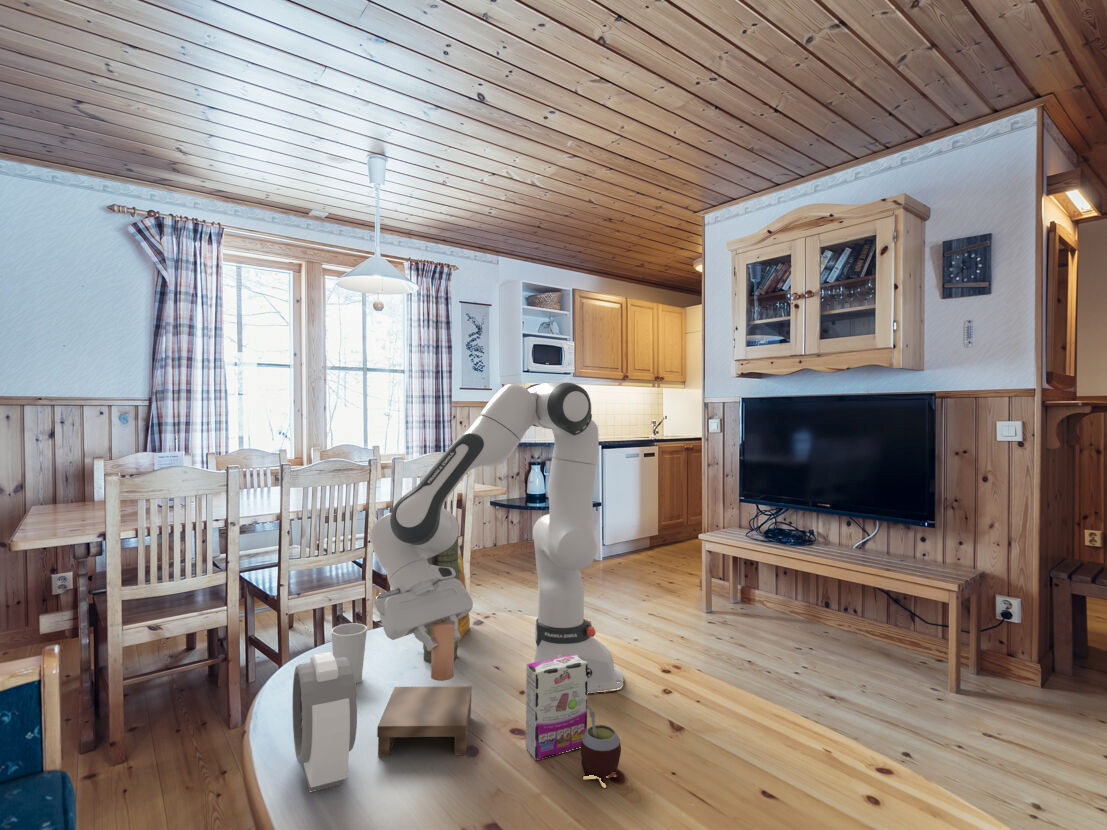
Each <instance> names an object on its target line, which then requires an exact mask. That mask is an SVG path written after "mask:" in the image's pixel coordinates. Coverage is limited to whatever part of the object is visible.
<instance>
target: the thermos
mask: <svg viewBox="0 0 1107 830" xmlns="http://www.w3.org/2000/svg"><path fill="white" fill-rule="evenodd" d="M458 544H459V537H458V538H457V540H456V542H455V543H454V544H453V546H452V547H450V548H449V549H448V550H446V551H444V552H442V553H440V554H438V555H436V556H434V557H431V558H428V559H427V561H428V563H429V565H435V566H441V567H450V568H453V569H454V571H455V573H456V576H455V577H454V578H455V579H458V580H459V581H460V568H459V565H458ZM457 630H458V629H457ZM425 633H427V634H428V635H429V636H430V637H431V638H432V627H431V628H428V629H426V631H425ZM422 645H423V646H422V650H423V661H425V662H426V663H428V664H430V665H431V651H432V650H430V651H428V650H427V648H426V646H425V644H424V643H422ZM458 648H459V641H458V640H457V641H454V662H455V661H456V660H457V659H458Z"/></svg>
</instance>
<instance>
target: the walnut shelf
mask: <svg viewBox="0 0 1107 830" xmlns="http://www.w3.org/2000/svg"><path fill="white" fill-rule="evenodd" d="M472 687H473V686H472V685H471V686H468V685H467V686H457V685H456V686H449V685H448V686H394V688H393V690H392V693H391V695H390V697H389V699H388V702H387V704H386V705H385V708H384V711H383V713H382V715H381V717H380V720H379V722H378V724H377V729H376V730H377V732H376V733H377V734H376V737H377V738H378V740H377V741H378V742H377V743H378V745H377V757H389V756H390V754H391V751H392V749H393V746H394V744H395V741H396V738H410V737H411V738H419V737H420V738H423V737H424V738H425V737H426V738H427V737H428V738H429V737H430V738H431V737H432V738H433V737H435V738H436V737H438V738H439V737H446V738H447V737H454V756H462V755H461V754H465V753H466V752H467V747H466V746H468V738H469V731H470V724H471V717H472V711H471V710H472V693H473V692H472V690H473V688H472ZM465 755H466V754H465Z"/></svg>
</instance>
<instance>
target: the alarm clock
mask: <svg viewBox="0 0 1107 830" xmlns="http://www.w3.org/2000/svg"><path fill="white" fill-rule="evenodd" d="M309 660H310V661H309V662H305V663H300V664H297V665H296V666H295V669H294V671H293V672H294V673H293V680H292V681H293V682H292V707H291V708H292V730H293V731H292V732H293V742H294V743H293V744H294V752H295V756H296V761H297V762H298V763H299V764H301V765H302V767H303V771H304V774H305V779H307V780H306V783H308V784H307V788H308V787H309V788H308V791H314V790H318V791H320V790H319V789H321V790H324V789H323V788H325V789H327V788H326V787H329V788H332V787H331V786H333V787H336V786H340V785H343V780H345V779H348V775H349V774H348V773H349V761H350V760H349V758H350V752H352V750H353V749H354V746H355V742H356V738H357V727H358V724H357V723H358V705H357V691H356V689H357V688H356V684H355V681H354V675H353V671H352V667H351V664H350V662H349V660H348V658H347V657H340V658H334V656H333V651H328V652H320V653H316V654H312V655H311V656H310V659H309ZM339 784H340V785H339ZM335 785H336V786H335ZM314 792H315V791H314Z"/></svg>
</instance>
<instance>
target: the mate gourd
mask: <svg viewBox="0 0 1107 830" xmlns="http://www.w3.org/2000/svg"><path fill="white" fill-rule="evenodd" d="M586 707H587V710H588V711H589V717H590V718H591V725H590V727H589V728H588V727H587V730H586V731H585V733H584V735H583V738H582V742H581V748H580V749H579V750H580V759H581V761H580V762H581V768H582V771H583V775H584V776H589V775H594V776H597V777H599V778H601V781H602V782H603V783H605V782H606V776H608V775H610V774H611V773H612V772H616V773H617V771H618V767H619V764H620V758H621V753H622V745H621V739H620V737H619V736H618V733H617V732H616V730H615V729H613V728H612V727H611V726H608V725H603V724H596V722H595V716H596V715H595V711H594V710H593V708H592V707H591V706H589V705H588V704H587V705H586Z"/></svg>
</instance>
